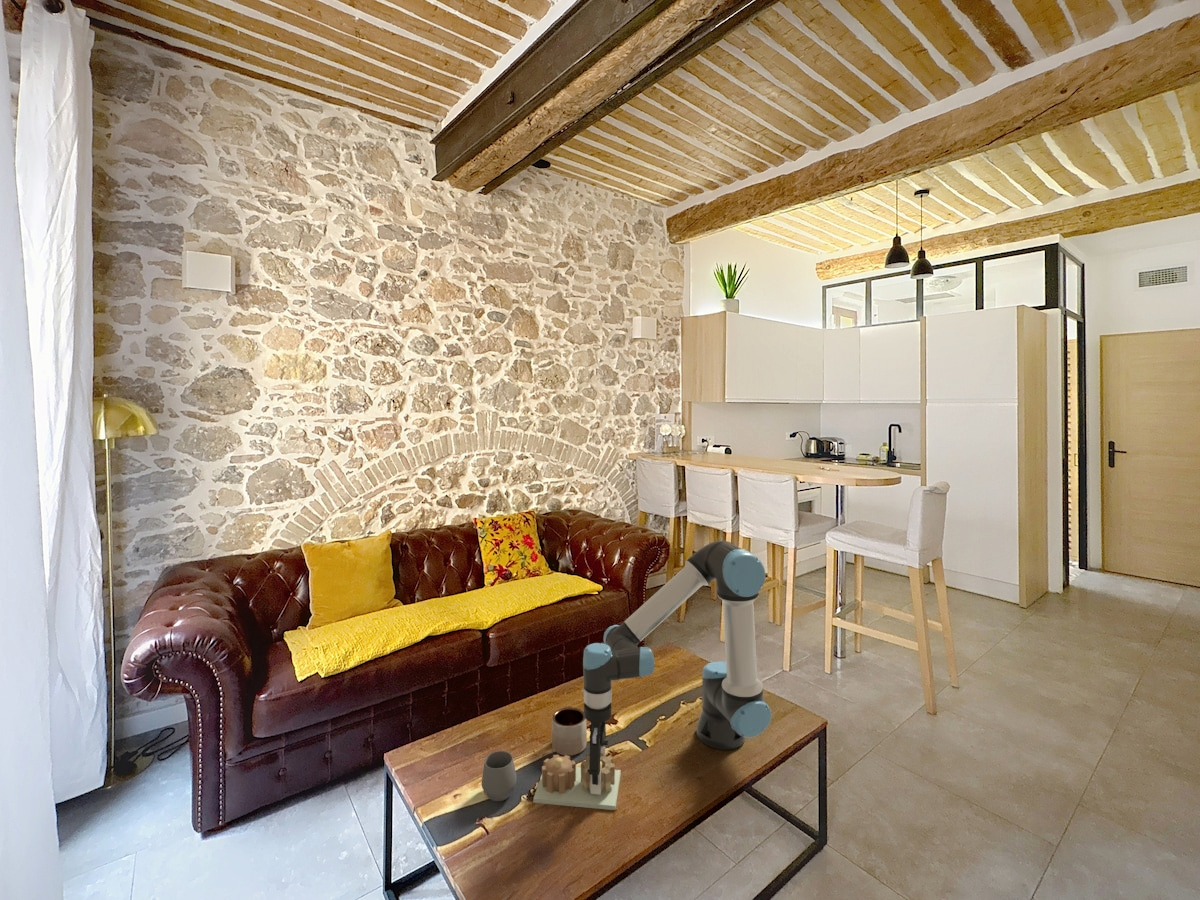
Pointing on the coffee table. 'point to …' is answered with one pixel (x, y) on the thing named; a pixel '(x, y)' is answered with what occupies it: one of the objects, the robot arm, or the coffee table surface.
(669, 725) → the coffee table surface
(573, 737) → the planter
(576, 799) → the gear board
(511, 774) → the cup
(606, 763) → the beech gear
